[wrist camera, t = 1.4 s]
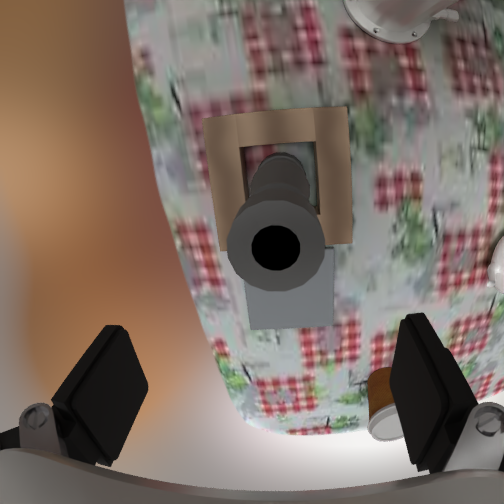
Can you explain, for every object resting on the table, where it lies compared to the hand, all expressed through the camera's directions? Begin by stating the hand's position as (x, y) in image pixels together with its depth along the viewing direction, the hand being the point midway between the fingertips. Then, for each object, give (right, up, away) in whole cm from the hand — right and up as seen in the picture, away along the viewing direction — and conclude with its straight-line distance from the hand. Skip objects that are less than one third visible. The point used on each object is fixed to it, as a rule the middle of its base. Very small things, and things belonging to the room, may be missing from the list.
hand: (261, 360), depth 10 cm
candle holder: (+4, +14, +31) cm, 34 cm away
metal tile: (+5, -2, +37) cm, 38 cm away
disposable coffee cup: (+24, -20, +43) cm, 54 cm away
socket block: (+3, +14, +31) cm, 34 cm away
